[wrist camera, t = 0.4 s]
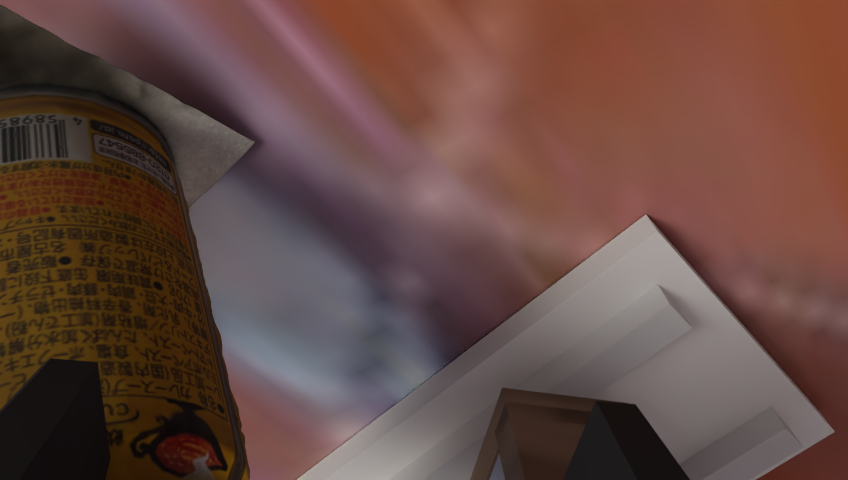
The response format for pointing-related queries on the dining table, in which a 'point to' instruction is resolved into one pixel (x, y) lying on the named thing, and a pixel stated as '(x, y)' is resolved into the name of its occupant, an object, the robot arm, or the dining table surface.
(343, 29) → the dining table surface
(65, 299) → the condiment
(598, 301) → the notch ledge
